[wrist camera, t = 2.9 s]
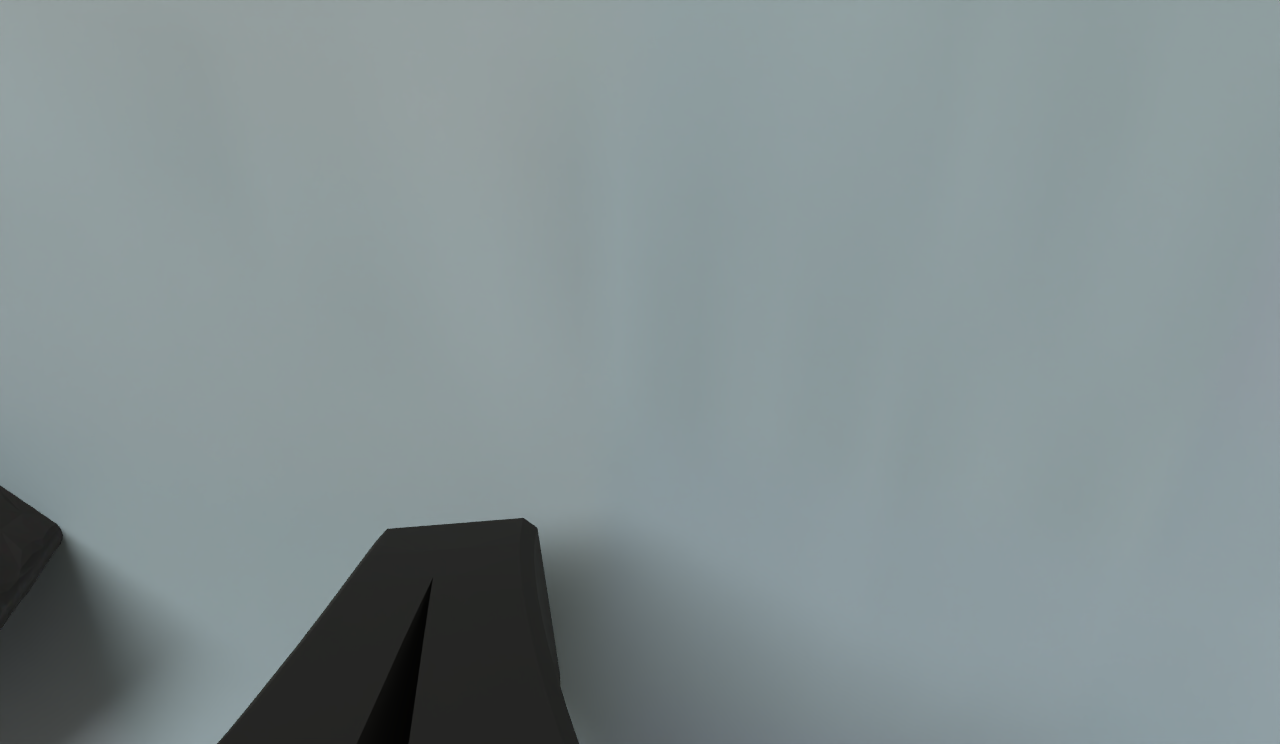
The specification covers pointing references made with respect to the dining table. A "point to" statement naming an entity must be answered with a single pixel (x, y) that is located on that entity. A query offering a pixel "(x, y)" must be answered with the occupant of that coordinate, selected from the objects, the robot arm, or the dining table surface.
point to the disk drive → (22, 549)
